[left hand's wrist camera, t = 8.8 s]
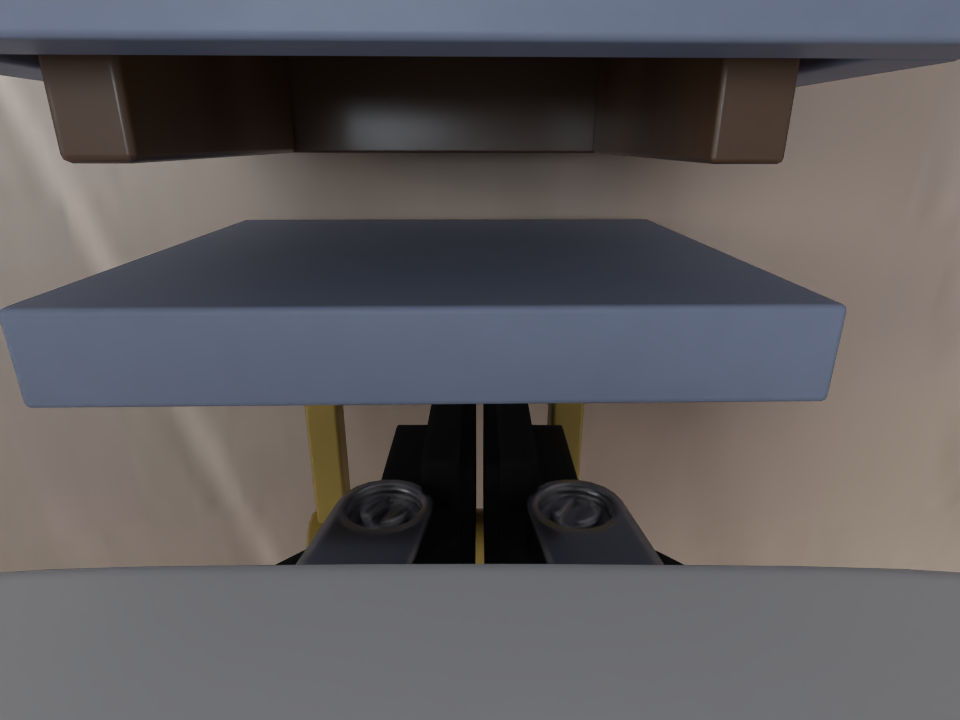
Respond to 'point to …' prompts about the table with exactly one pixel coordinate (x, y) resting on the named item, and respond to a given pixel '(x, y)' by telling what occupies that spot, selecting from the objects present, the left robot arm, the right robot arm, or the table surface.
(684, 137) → the drawer
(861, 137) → the table surface
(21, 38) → the cabinet
